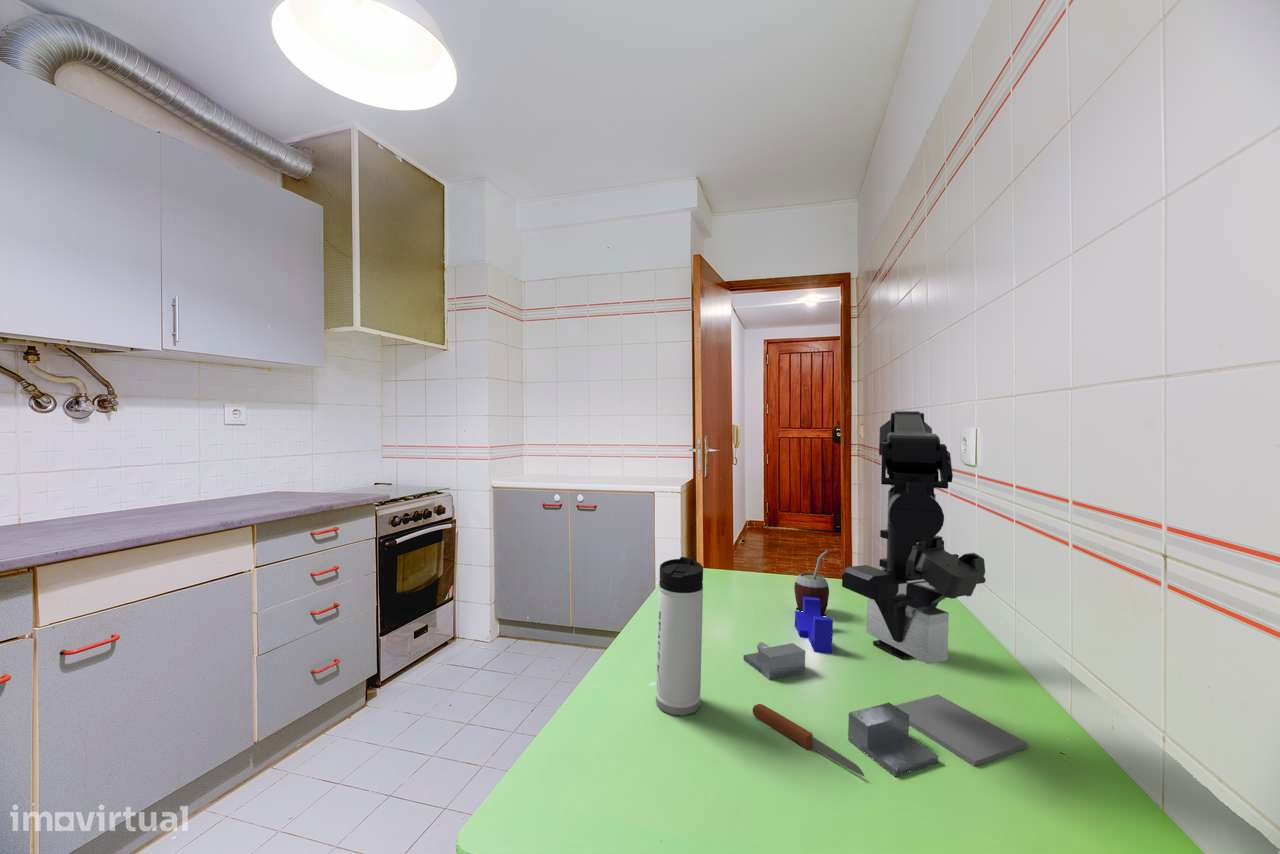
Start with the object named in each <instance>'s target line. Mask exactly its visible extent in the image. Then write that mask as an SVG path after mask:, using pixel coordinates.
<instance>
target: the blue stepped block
mask: <svg viewBox="0 0 1280 854" xmlns="http://www.w3.org/2000/svg"><path fill="white" fill-rule="evenodd" d="M833 623H834V621H833V618H832V617H830V616H829V617H828V616H826V617H822V616H821V612H820V599H819V598H813V597H803V612H801V611H797V610H795V611H794V627H795V626H796V627H795V629H796V631H798V632H797V633H798V636H800V637H799V638H802V637H803V639H808V641H809V644H810V643H811V644H810V646H811V648H812V651H813V652H814V653H818V654H819V653H820V654H832V653H833V633H834V632H833V627H834V626H833V625H834V624H833Z"/></svg>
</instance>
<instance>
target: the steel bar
mask: <svg viewBox="0 0 1280 854" xmlns="http://www.w3.org/2000/svg"><path fill="white" fill-rule="evenodd" d="M949 614H950V613H949V612H948V611H946V610H943V609H940V608H937V607H936V608H935V607H933V606H930V607H923V608H916V609H915V608H913V607H910V606H908V605H907V606H906V610H905V621H904V632H903V637H902V642H900V643H898V642H896V641H894V640H893V638H892V636H891V634H890V632H889V629H888V627H887V625H886V623H885V620H884V618H883V616H882V614H881V612H880V610H879V608H878V606H877V604H876V602H875V600H873V599H870V598H867V599H866V634H868V635H870V636H872V637H873V638H876V639H877V640H881V641H883V642H885V643H887V644H889V645H891V646H893V647H895V648H897V649H899V650H901V651H903V652H905V653H907V654H909V655H911V656H913V657H912V658H914V659H916V660H919V661H921V662H922V663H925V664H927V665H931V664H937V663H941V662H945V661H948V653H949V652H948V651H949V649H948V648H949V616H950V615H949Z"/></svg>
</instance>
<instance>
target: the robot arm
mask: <svg viewBox="0 0 1280 854" xmlns="http://www.w3.org/2000/svg"><path fill="white" fill-rule="evenodd" d="M878 440H879V441H878V445H879V446H878V455H879V456H881V477H880V478H881V479H880V480H881V481H880V482H881V483H880V484H881V485H885V486H886V485H887V486H891V487H890V488H889V490H888V492H887V494H888V495H887V522H886V523H887V524H886V525H887V527H886V529H880V530H879V531H880V532H879V533H880V534H879V535H880V537H879V538H883V539H886V557H885V558H879V564H878V565H879V566H878V567H881V569H879V568H876V567H873V566H870V565H867V564H866V565H865V564H864V565H854V566H847V567H846V568H844V569H843V570H842V572H841V573H842V575H841V587H842V588H845V589H847V590H849V591H852V592H854V593H856V594H859V595H861V596H863V597H865V598H867V599H869V598H870V599H873V600H875V602H876V604H877V606H878V608H879V610H880V612H881V614H882V616H883V618H884V620H885V623H886V625H887V627H888V629H889V632H890V634H891V636H892V638H893V640H894V641H896V642H898V643H900V642H902V637H903V632H904V621H905V610H906V606H907V605H908V606H910V607H913V608H915V609H916V608H923V607H930V606H933V607H935V608H937V607H938V604H939V603H940V602H942V601H944V600H945V599H946V598H948V599H957V598H958V597H965V596H966V597H972V595H973V593H974V591H975V588H976V587H977V585H981V584H985V583H986V577H985V574H986V567H985V565H986V563H985V558H984V557H982V556H980V555H979V554H977V553H975V552H971V553H970V552H969V553H964V554H962V555H961V556H960V555H959V554H957V553H953V554H951V553H949V552H948V551H946V550H945V541H944V540H943V536H939V535H938V533H940V532H941V530H942V528H943V526H944V521H945V515H944V512H943V508H942V506H941V505H940V504H939V502H938V501H937V500H936V493H935V489H945V490H946V489H949V483H952V482H953V476H954V475H953V474H954V473H953V467H952V465H953V464H952V459H951V452H949V450H948V449H947V448H948V446H947V445H946V443H941V439H940V437H939V436H938V434H936V433H933V428H932V427H931V426H930V425H929V424H928V423H926V421H925V413H924V412H920V411H919V410H918V411H913V410H911V411H910V410H909V411H904V410H903V411H899V410H897V411H896V410H895V411H894V412H891V413H890V419H889V420H888V421H886V422H885V423H884V424H883V425H881V426H880V427H879V439H878ZM886 475H888V477H887V476H886ZM939 478H940V479H939ZM872 644H873V645H874V646H876V647H878V648H880V649H882V650H884V651H886V652H888V653H890V654H892V655H894V656H896V657H898V658H899V659H903V660H904V659H909V658H914V657H913V656H911V655H909V654H907V653H905V652H903V651H901V650H899V649H897V648H895V647H893V646H891V645H889V644H887V643H885V642H883V641H881V640H879V639H877V640H873V641H872Z"/></svg>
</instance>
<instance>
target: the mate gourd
mask: <svg viewBox="0 0 1280 854" xmlns="http://www.w3.org/2000/svg"><path fill="white" fill-rule="evenodd" d="M829 552H830V550H829V549H826V550H825V551H824V552H822V553H821V554H820V555H819V557H817V560H816V561H817V562H816V566H815V569H814V573H813V572H802V573H800V574H799V575H798V576H797V577H796V578H795V581H794V587H793V588H794V594H795V595H794V597H795V601H796V606H797V607H796V608H795V611H797V610H799V611H803V597H813V598H819V599H820V612H821V617H822V616H826V617H827V614H826V610H827V607H828V604H829V599H830V598H829V597H830V588H829V583H828V581H827V579H826V578H825V576H823V575H822V574H818V571H819V568H820V564H821V563H822V561H823V560H822V559H823V557H824V556H825V555H827V554H828V553H829Z"/></svg>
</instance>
